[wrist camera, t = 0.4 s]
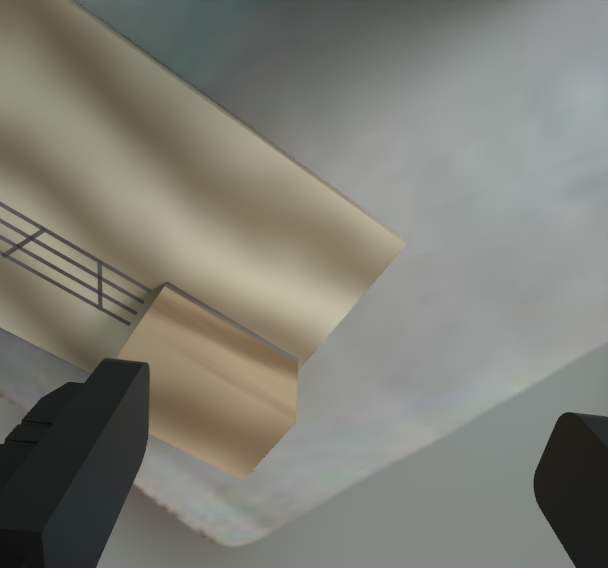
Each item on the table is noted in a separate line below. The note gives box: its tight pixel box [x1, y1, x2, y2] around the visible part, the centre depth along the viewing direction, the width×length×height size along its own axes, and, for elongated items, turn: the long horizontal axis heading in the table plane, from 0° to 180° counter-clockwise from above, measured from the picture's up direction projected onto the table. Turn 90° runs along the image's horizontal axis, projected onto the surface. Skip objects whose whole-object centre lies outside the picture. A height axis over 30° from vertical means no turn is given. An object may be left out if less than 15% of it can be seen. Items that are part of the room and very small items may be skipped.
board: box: [0, 0, 406, 374], centre depth 25 cm, size 18×23×1 cm
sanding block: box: [116, 282, 298, 480], centre depth 25 cm, size 5×9×6 cm, turn 55°
